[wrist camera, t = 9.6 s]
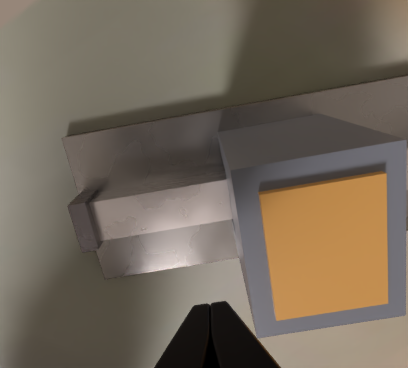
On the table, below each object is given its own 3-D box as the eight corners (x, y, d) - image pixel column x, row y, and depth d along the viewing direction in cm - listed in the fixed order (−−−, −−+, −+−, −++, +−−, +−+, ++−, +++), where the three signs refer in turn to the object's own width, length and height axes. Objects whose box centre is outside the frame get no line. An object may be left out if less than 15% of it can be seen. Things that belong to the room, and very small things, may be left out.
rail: (462, 215, 18) (503, 237, 16) (107, 273, 19) (94, 302, 17) (472, 63, 16) (522, 60, 14) (66, 136, 17) (43, 146, 14)
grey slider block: (328, 226, 18) (410, 320, 11) (235, 242, 18) (258, 343, 11) (320, 113, 16) (412, 141, 9) (217, 132, 16) (231, 172, 9)
